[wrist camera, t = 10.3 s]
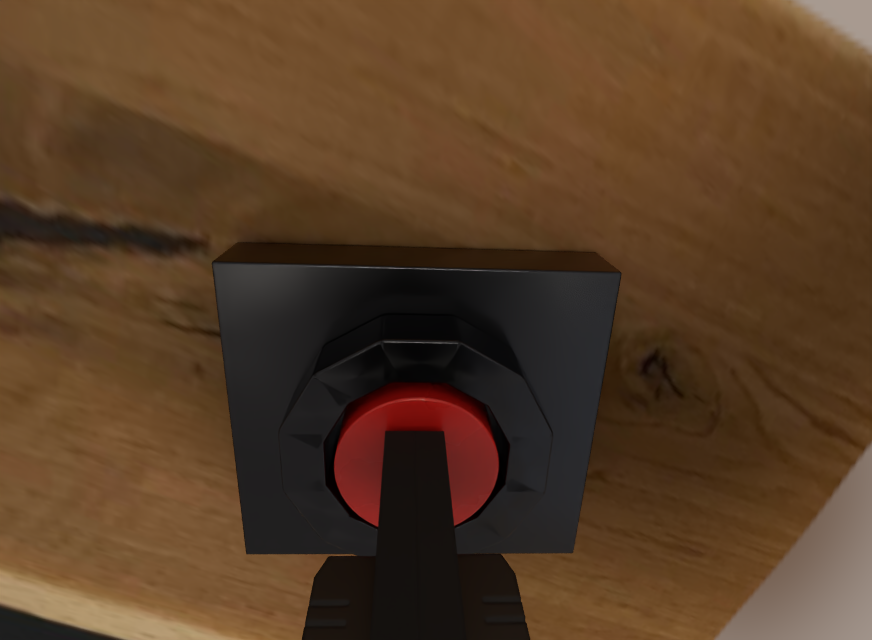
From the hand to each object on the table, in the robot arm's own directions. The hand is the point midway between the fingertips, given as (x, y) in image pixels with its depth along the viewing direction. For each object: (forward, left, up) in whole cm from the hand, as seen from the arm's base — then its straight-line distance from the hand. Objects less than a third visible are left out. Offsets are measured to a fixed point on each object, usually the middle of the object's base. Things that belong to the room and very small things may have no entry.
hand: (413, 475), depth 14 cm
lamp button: (0, 0, -2) cm, 2 cm away
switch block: (0, 0, -5) cm, 5 cm away
